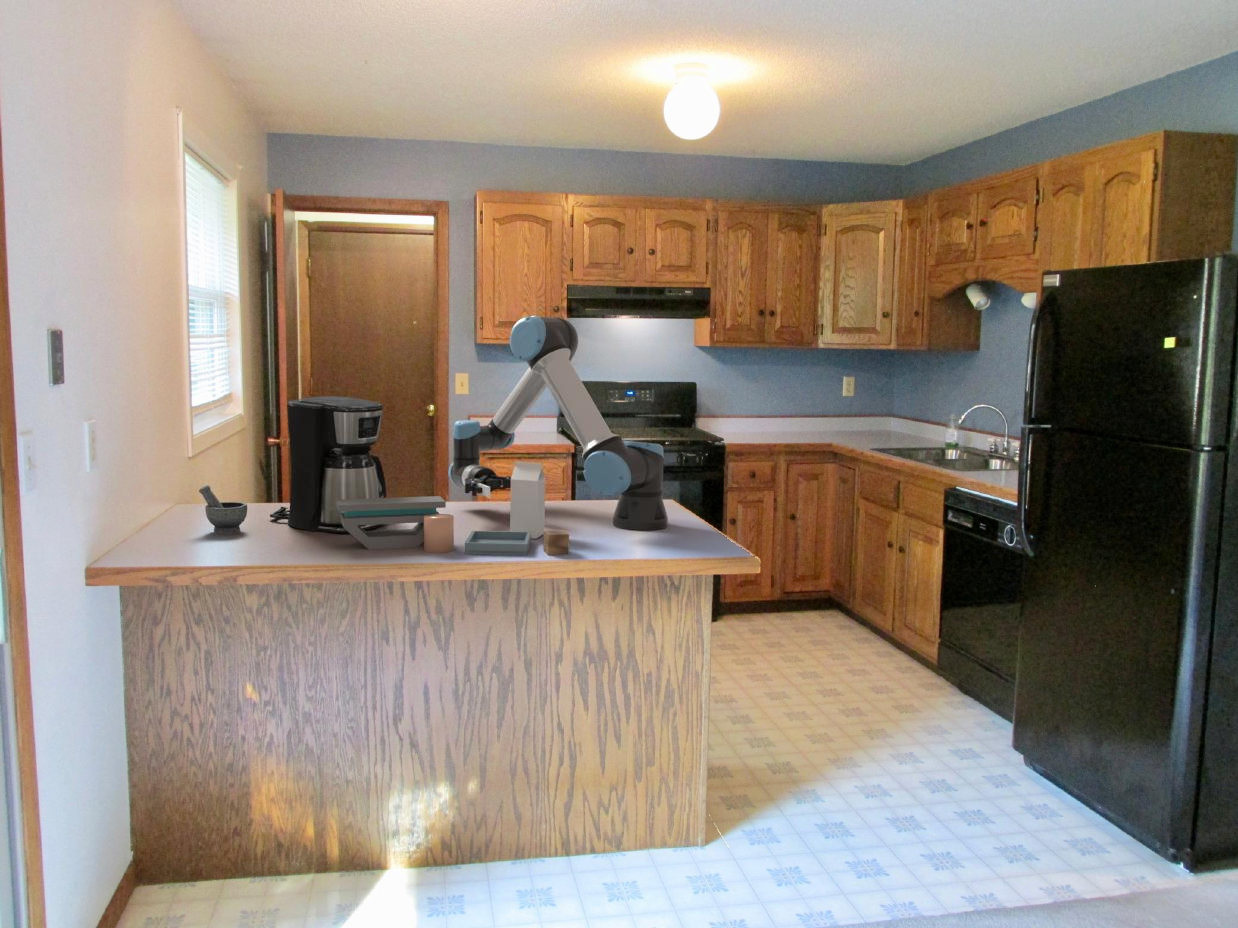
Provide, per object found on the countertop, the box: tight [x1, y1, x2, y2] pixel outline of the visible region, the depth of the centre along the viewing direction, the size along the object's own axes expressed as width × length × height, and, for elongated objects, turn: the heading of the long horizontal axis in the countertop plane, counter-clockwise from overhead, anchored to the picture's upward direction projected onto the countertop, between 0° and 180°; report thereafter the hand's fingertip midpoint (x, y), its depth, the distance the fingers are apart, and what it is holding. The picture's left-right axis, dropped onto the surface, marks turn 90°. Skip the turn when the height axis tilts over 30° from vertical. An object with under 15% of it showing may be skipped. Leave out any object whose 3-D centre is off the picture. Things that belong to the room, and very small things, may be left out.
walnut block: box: [543, 529, 570, 556], centre depth 235 cm, size 5×5×5 cm
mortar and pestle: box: [198, 484, 248, 535], centre depth 248 cm, size 11×9×12 cm
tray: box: [464, 530, 532, 556], centre depth 239 cm, size 15×15×3 cm
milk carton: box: [509, 461, 546, 539], centre depth 253 cm, size 7×7×19 cm
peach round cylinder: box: [423, 513, 455, 554], centre depth 235 cm, size 7×7×8 cm
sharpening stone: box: [336, 495, 447, 550], centre depth 239 cm, size 25×8×11 cm, turn 111°
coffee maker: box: [269, 395, 387, 535], centre depth 259 cm, size 23×32×34 cm
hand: (512, 490), depth 260 cm, fingers open, 13 cm apart
